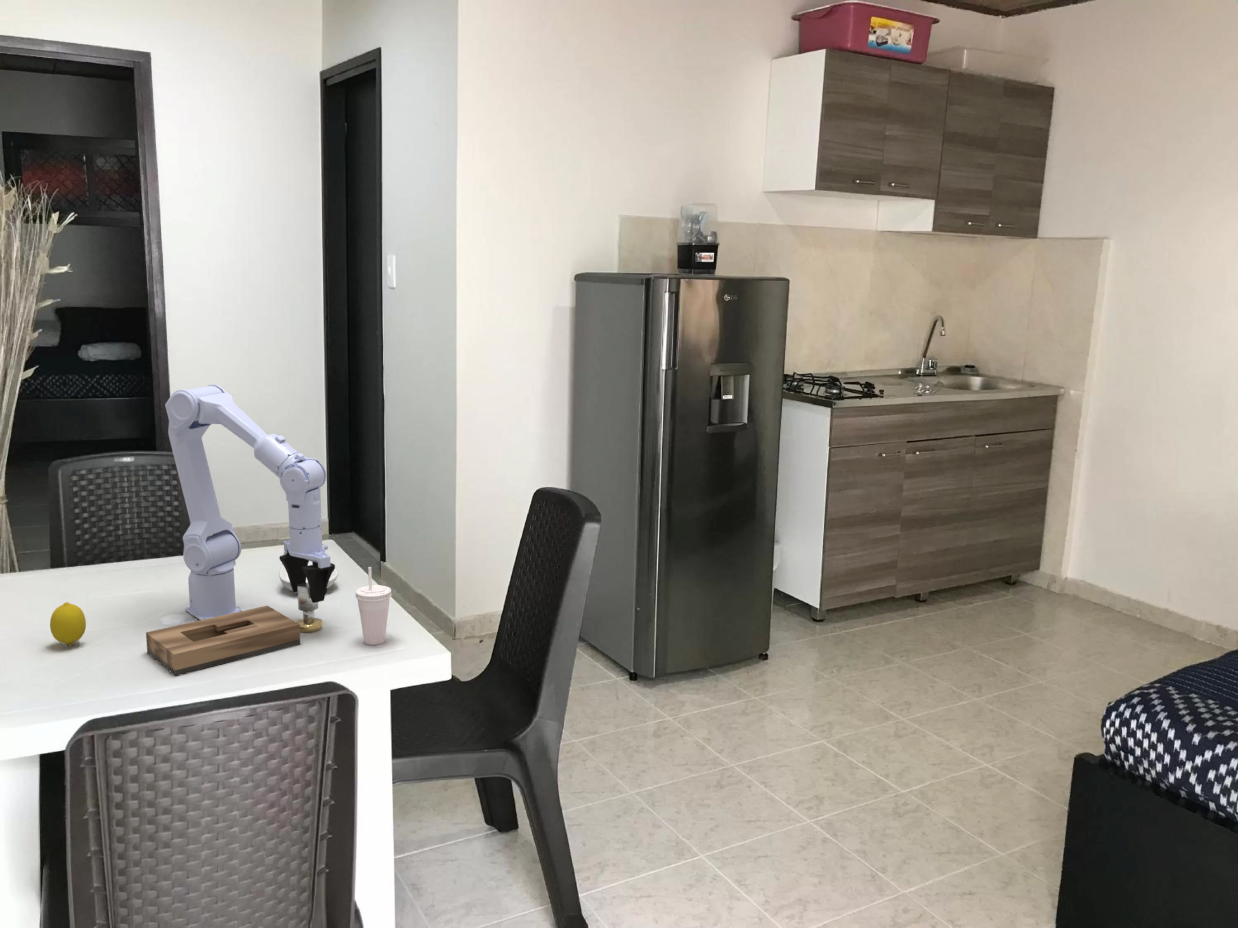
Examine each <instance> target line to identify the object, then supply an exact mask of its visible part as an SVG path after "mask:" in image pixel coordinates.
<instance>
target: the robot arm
mask: <svg viewBox="0 0 1238 928" xmlns="http://www.w3.org/2000/svg"><path fill="white" fill-rule="evenodd" d="M165 409H166V410H165V411H166V413H167V419H168V431H167V433H168V438H169V442H170V446H171V451H172V453H173V459H174V462H175V465H176V471H177V474H178V479H179V482H180V486H181V490H182V493H183V497H184V502H185V506H186V510H187V513H188V514H187V515H188V517H189V522H190V523H189V524H190V525H189V526H188V528H187V530H186V531H185V533H184V534H183V536H182V541H183V552H182V553H183V554H182V555H183V556H182V557H183V561H184V564H185V566H186V567H187V568H188V569H189V570H190V572H189V575H188V578H187V581H188V583H187V584H188V598H189V601H188V602H189V606H185V608H184V611H186V612H188V613H189V614H191V616H193V617H195V618H197V619H198V621H200V620H204V619H209V618H213V617H218V616H222V615H227V614H231V613H236V612H240V611H244V610H243V609H241V608H239V607H237V606H236V589H235V588H236V587H235V584H236V583H235V566H236V564H237V563H236V561H237V560H238V559H239V557H240V556H241V555H242V554H241V553H242V543H241V541H240V539H239V537H238V536H237V535H236V533H235V531H234V527H233V523H231V522H229V520H227V519H225V518H223V517H222V515H221V511H220V508H219V504H218V503H219V502H218V499H217V495H216V492H215V491H216V490H215V488H214V483H213V477H212V475H211V471H210V470H211V469H210V467H209V462H208V459H207V454H206V451H205V450H206V449H205V447H204V442H203V439H202V437H203V436H204V434H205V433H206V432H207V431H208V429H209V428H210V426H212V425H221V426H223V427H224V428H226V429H227V430H228V431H230V432H231V433H232V434H234V435H235V436H236V437H238V438H239V439H241V440H242V441H244V443H246V444H248V445H249V446H250V447H251V448H253V455H254V456H253V457H254V458H255V459H256V460H257V461H258V462H260V463H261V464H262V465H263V466H264V467H266V468H267V469H268V470H269V471H270V472H271V473H273V474H274V475H275V476H276V477H278V478H279V483H280V486H281V489H283V492H284V494H285V497H286V498H285V499H286V501H287V504H288V506H287V507H288V524H289V525H288V531H289V533H288V534H289V540H288V539H287V540H284V541H283V552H284V551H285V552H287V553H286V555H284V554H282V555H279V557H278V558H279V561H280V563H281V565H282V564H283V565H284V567H285V569H286V571H287V574H288V577H289V580H290V584H291V587H292V590H293V591H292V592H293V593H296V592H298V585H299V584H302V583H306V578H307V581H308V584H309V590H310V596H311V600H312V602H313V603H316V602H318V603H319V602H323V601H325V597H326V593H327V589H328V588H327V585H328V582H329V579H330V577H331V574H332V573H333V571H334V569H335V568H336V565H335V564H334V563H332V562H331V556H330V555H328V554H327V552H326V551H327V550H328V549H329V546H328V545H327V544H325V543H323V531H322V529H323V528H322V527H323V526H322V503H321V502H322V499H321V497H322V496H321V487H323V486H324V485H325V483H326V480H327V471H326V469H325V467H324V466H323V464H322V463H321V462H320V460H319V459H317V458H315V457H307V456H305V455H304V454H303V453H302V452H299V451H298V450H296V449H295V448H294V447H293V446H292V445H290V444H289V443H288V442H287V441H286V439H287V438H285V437H284V436H283V435H282V434H281V435H278V434H277V433H276V434H275V433H270V434H267V432H265V431H264V430H263V429H262V428H261V427H260V426H259V425H258V424H257V423H256V422H255V421H253V419H251V417H249V416H248V414H247V413H245V412H244V411H243V409H241V408H240V407H239V406H238V405H237V404H236V403H235V402H234V398H233V395H232V394H230V393H229V392H227V391H226V390H225V389H224V388H223V387H222V386H220V385H218V384H208V385H207V386H200V387H194V388H187V389H176V390H175V391H174V392H172V394H171V395H170V397H169V398H168V400H167V401H166V403H165ZM309 561H311V562H312V564H313V565H309V566H308V563H309Z"/></svg>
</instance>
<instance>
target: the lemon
mask: <svg viewBox="0 0 1238 928" xmlns="http://www.w3.org/2000/svg"><path fill="white" fill-rule="evenodd" d="M49 621H50V622H49V628H50V632H51V635H52V637H53V638H54V640H56V641H57V642H59V643H62V644H65V645H66V646H68V645H71V646H73V644H74V643H76V642H78V641H79V640H80V639H81V638H82V637H83V636H84V634H85V631H86V627H87V619H86V616H85V614H84V612H83V610H82V608H80V607H79V606H78V605H76V604H74V603H69V601H67V602H66V601H65V602H64V603H63V604H61V605H59V606H58V607H56V608H55V609H54V611H53V612H52V613H51V617H50V620H49Z"/></svg>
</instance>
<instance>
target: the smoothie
mask: <svg viewBox="0 0 1238 928" xmlns="http://www.w3.org/2000/svg"><path fill="white" fill-rule="evenodd" d="M367 568H368V569H367V570H368V571H367V572H368V576H367V577H368V578H367V579H368V585H366V586H365V585H364V586H362V587H358V588H357V589H356V590H355V598H356V599H357V603H358V605H357V606H358V610H359V616H360V617H359V618H360V624H361V629H362V637H363V642H364V644H366V645H369V646H375V645H377V646H378V645H382V644H383V643H385V642H386V634H387V627H388V626H387V625H388V619H389V618H388V615H389V607H390V598H391V597H392V589H391V587H389V586H385V585H380V584H374V585H373V584H372V582H373V579H372V577H373V576H372V575H373V574H372V573H373V572H372V566H368V567H367Z"/></svg>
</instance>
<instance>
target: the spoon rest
mask: <svg viewBox="0 0 1238 928" xmlns="http://www.w3.org/2000/svg"><path fill="white" fill-rule="evenodd" d="M283 552H284V553H283V555H286V553H287V552H285V551H284V550H283ZM309 565H313V564H312V562H311V561H309V563H308V566H309ZM338 576H339V572H338V569H336V567H335V569H334V571H333V573H332V574H331V577H330V579H329V582H328V585H327V589H328V588H330V587H331V586H332V585H333V584H334V583H335V582H336V581H337V578H338ZM278 577H279V580H280V582H281V584H282V585H283V586H284V587H286V588H287V589H288V590H290V591H291V592H293V590H292V587H291V584H290V580H289V577H288V574H287V571H286V569H285V567H284V565H283V564H282V563H281V567H280V569H279V572H278ZM306 583H308V581H307V578H306ZM295 593H297V594H298V592H295Z"/></svg>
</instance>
